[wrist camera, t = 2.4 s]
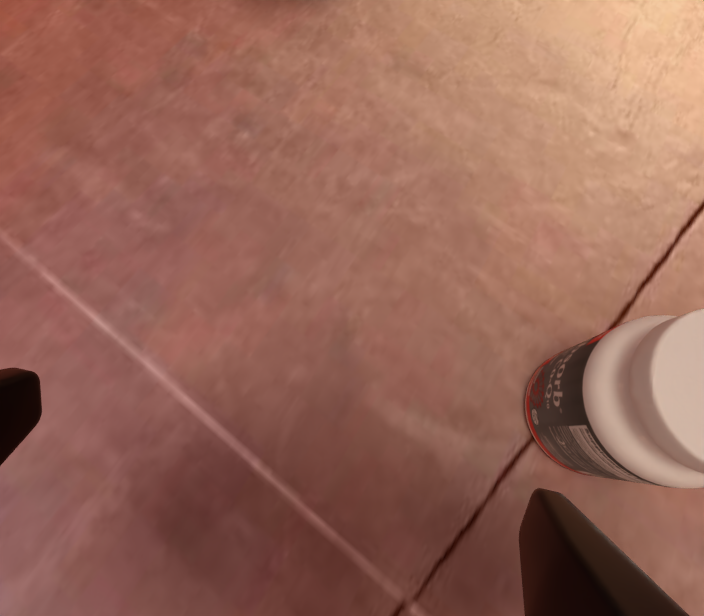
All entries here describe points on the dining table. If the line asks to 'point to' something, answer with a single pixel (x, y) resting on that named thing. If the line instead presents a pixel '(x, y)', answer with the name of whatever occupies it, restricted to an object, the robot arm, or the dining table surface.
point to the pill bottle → (626, 403)
